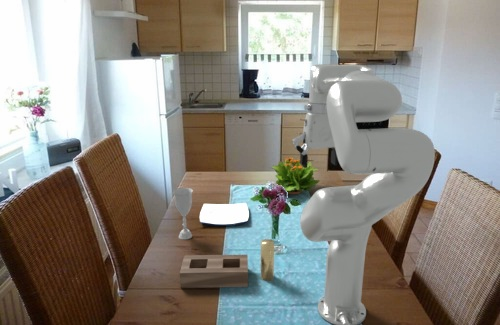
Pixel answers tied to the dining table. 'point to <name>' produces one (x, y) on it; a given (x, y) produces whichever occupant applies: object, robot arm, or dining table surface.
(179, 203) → the chalice
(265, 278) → the pin
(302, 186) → the potted flower
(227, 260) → the hole block
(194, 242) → the dining table surface
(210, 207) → the plate
